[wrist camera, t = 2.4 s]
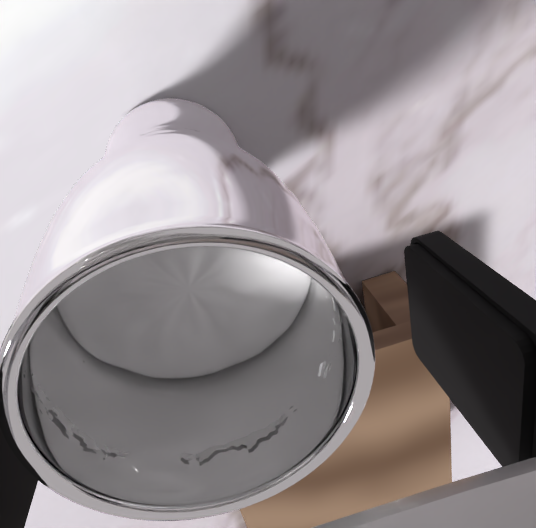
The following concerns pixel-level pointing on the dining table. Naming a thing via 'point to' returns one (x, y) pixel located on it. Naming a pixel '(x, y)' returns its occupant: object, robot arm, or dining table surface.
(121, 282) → the beer glass
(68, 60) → the dining table surface
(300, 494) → the walnut shelf stand
